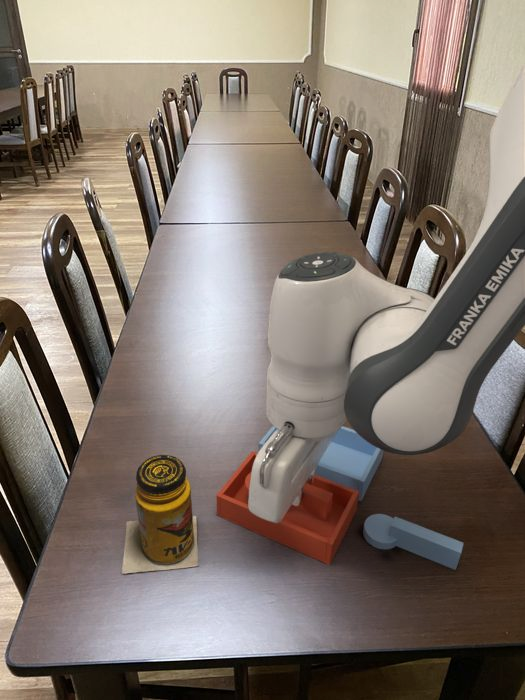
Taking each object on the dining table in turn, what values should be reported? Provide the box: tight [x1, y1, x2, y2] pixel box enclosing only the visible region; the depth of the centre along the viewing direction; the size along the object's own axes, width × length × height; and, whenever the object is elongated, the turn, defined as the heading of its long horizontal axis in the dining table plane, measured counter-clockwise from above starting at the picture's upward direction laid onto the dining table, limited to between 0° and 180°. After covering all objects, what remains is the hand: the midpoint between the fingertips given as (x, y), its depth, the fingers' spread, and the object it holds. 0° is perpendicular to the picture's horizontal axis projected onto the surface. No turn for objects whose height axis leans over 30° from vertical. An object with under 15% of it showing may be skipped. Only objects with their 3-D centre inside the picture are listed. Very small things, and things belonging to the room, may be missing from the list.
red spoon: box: [245, 473, 333, 520], centre depth 66 cm, size 11×4×3 cm, turn 62°
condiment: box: [121, 454, 199, 575], centre depth 60 cm, size 7×8×12 cm
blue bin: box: [258, 425, 385, 502], centre depth 75 cm, size 15×9×4 cm, turn 62°
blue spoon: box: [362, 513, 464, 571], centre depth 63 cm, size 11×4×3 cm, turn 62°
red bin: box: [215, 450, 359, 566], centre depth 67 cm, size 15×9×4 cm, turn 62°
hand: (299, 492), depth 65 cm, fingers closed on red spoon
